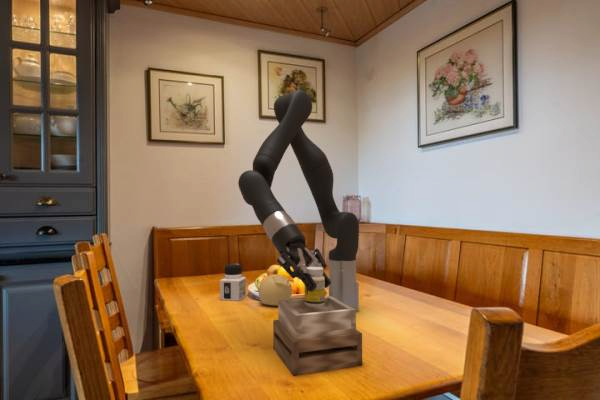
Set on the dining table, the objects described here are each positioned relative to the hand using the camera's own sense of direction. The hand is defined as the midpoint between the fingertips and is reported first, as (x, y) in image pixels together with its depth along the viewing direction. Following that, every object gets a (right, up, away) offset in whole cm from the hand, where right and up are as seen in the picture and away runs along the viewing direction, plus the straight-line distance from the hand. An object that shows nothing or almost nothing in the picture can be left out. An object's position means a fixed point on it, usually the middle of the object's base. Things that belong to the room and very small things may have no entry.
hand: (320, 287), depth 89 cm
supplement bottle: (-1, -4, +1) cm, 5 cm away
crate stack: (-1, -16, +1) cm, 17 cm away
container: (-31, -18, +58) cm, 68 cm away
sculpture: (-14, -18, +49) cm, 54 cm away
